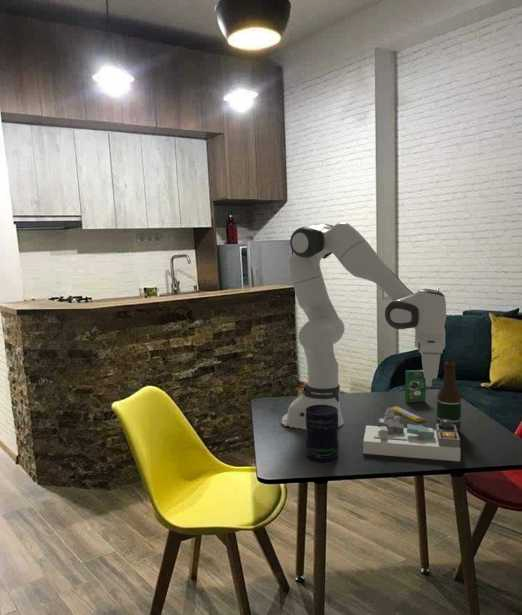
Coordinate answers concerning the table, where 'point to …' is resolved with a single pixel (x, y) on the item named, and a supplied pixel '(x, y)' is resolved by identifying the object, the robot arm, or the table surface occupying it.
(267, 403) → the table surface
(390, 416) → the grey rounded piece
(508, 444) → the table surface
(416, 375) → the coffee box
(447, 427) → the button black
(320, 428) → the storage jar
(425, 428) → the rocker teal
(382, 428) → the slide knob
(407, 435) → the console
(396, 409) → the candy bar
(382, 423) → the rocker charcoal
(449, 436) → the button orange
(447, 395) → the beer bottle
